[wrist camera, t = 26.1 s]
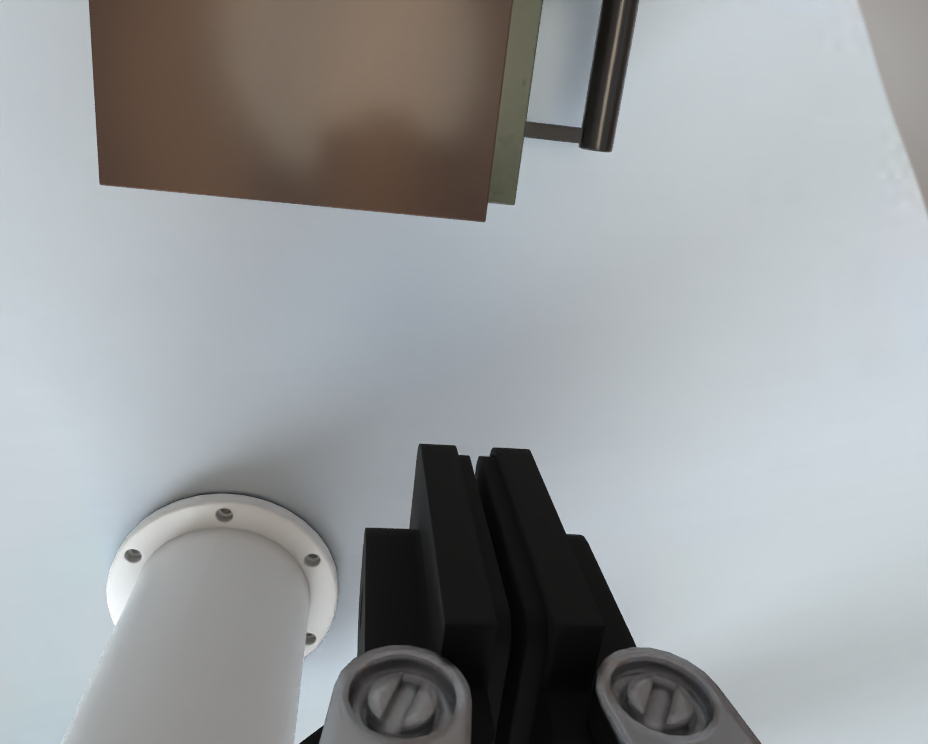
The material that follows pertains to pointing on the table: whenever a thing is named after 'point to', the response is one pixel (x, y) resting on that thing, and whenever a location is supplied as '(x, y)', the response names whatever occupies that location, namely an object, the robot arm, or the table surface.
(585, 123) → the drawer
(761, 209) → the table surface
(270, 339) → the table surface
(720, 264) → the table surface
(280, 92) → the cabinet
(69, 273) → the table surface
